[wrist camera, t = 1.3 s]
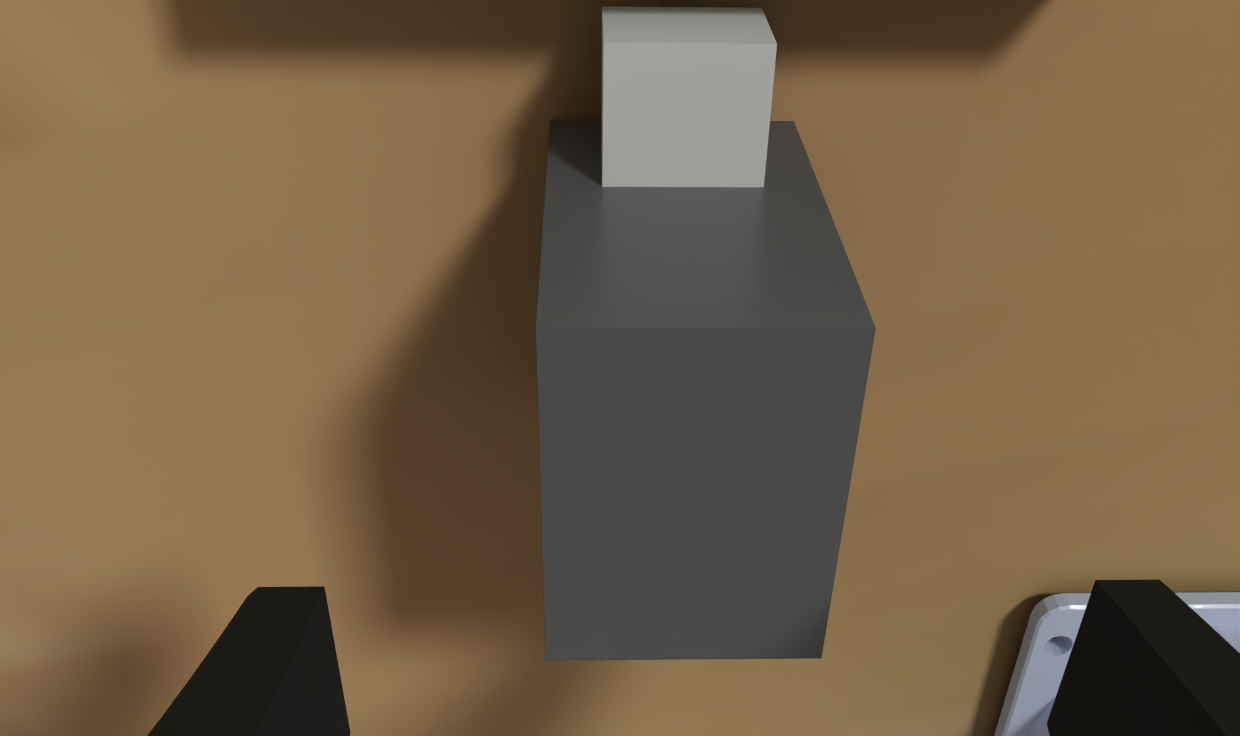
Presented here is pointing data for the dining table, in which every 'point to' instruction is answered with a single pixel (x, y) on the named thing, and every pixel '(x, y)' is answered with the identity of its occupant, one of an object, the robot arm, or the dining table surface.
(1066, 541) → the dining table surface
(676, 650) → the plug
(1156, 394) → the dining table surface
